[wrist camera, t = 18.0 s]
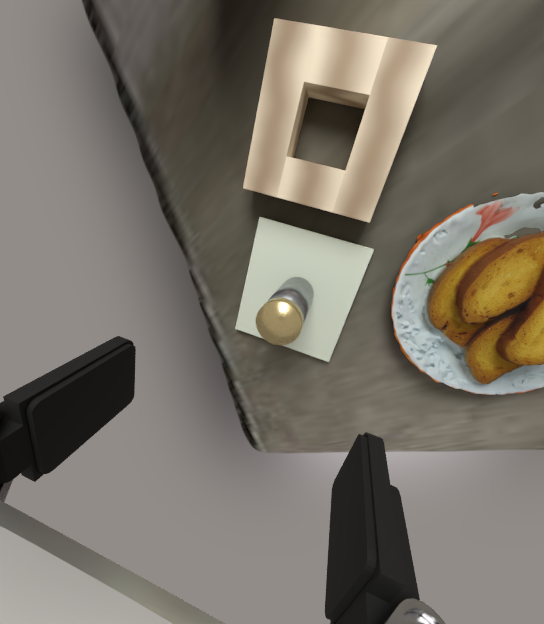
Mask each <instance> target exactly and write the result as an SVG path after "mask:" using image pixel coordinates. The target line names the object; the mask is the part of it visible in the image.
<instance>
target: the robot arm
mask: <svg viewBox="0 0 544 624" xmlns="http://www.w3.org/2000/svg"><path fill="white" fill-rule="evenodd" d="M134 383H135V346H134V345H133V342H132V341H130V340H128V339H125V338H122V337H120V336H117V337H115V338H113V339H111V340H109V341H107V342H105V343H103V344H101V345H100V346H98V347H96V348H94V349H92V350H90V351H88V352H86V353H84V354H83V355H81V356H79V357H77V358H75V359H73V360H71V361H69V362H68V363H66V364H64V365H62V366H60V367H58V368H56V369H54V370H52V371H51V372H49V373H47V374H45V375H43V376H42V377H39V378H37V379H35V380H34V381H32V382H30V383H28V384H26V385H24V386H23V387H20V388H19V389H17V390H15V391H13V392H11V393H9V394H7V395H5V396H4V397H3V398H4V401H3V402H1V403H0V624H225V623H223V622H221V621H219V620H218V619H216V618H214V617H212V616H210V615H209V614H207V613H205V612H203V611H201V610H200V609H198V608H196V607H194V606H192V605H191V604H189V603H187V602H185V601H183V600H182V599H180V598H178V597H176V596H174V595H173V594H171V593H169V592H167V591H165V590H164V589H162V588H160V587H158V586H156V585H155V584H153V583H151V582H149V581H147V580H146V579H144V578H142V577H140V576H138V575H136V574H135V573H133V572H131V571H129V570H127V569H125V568H124V567H122V566H120V565H118V564H116V563H114V562H113V561H111V560H109V559H107V558H105V557H104V556H102V555H100V554H98V553H96V552H95V551H93V550H91V549H89V548H87V547H85V546H83V545H82V544H80V543H78V542H76V541H74V540H73V539H71V538H69V537H67V536H65V535H63V534H62V533H60V532H58V531H56V530H54V529H52V528H50V527H49V526H47V525H45V524H43V523H41V522H39V521H37V520H36V519H34V518H32V517H30V516H28V515H26V514H25V513H23V512H21V511H19V510H17V509H15V508H13V507H11V506H10V505H8V504H6V503H4V501H5V499H6V496H7V494H8V491H9V489H10V486H11V484H12V481H13V479H14V478H15V477H16V476H18V475H19V474H20V473H21V474H22V475H23V476H25V477H27V478H28V479H30V480H32V481H34V482H35V481H36V480H37V479H39V478H40V477H41V476H42V475H43V474H47V473H50V472H51V471H53V470H54V469H55V468H56V467H57V466H58V465H60V464H61V463H62V462H63V461H64V460H65V459H66V458H68V457H69V456H70V455H71V454H72V453H73V452H74V451H76V450H77V449H78V448H79V447H80V446H81V445H83V444H84V443H85V442H86V441H87V440H88V439H89V438H91V437H92V436H93V435H94V434H95V433H96V432H98V431H99V430H100V429H101V428H102V427H103V426H104V425H106V424H107V423H108V422H109V421H110V420H111V419H112V418H114V417H115V416H116V415H117V414H118V413H119V412H120V411H122V410H123V409H124V408H125V407H126V406H127V405H128V404H130V403H131V401H132V399H133V398H134ZM325 616H326V618H327V619H329V620H331V623H330V624H445V623H444V621H443V620H442V619H441V617H440V616H439V615H438V614H437V613H436V612H435V611H434V610H433V609H432V608H431V607H429V606H428V605H426V604H425V603H424V602H422V601H420V599H419V594H418V588H417V583H416V577H415V572H414V566H413V561H412V556H411V550H410V545H409V539H408V534H407V528H406V523H405V518H404V512H403V507H402V502H401V496H400V493H399V490H398V489H397V488H396V487H394V486H392V485H390V480H389V474H388V467H387V460H386V454H385V447H384V442H383V439H382V438H380V437H377V436H374V435H372V434H369V433H365V434H364V435H360V434H359V435H358V436H357V438H356V440H355V442H354V444H353V446H352V448H351V450H350V452H349V454H348V456H347V458H346V459H345V461H344V463H343V466H342V467H341V469H340V471H339V473H338V475H337V477H336V479H335V481H334V483H333V487H332V498H331V515H330V532H329V549H328V566H327V583H326V601H325Z"/></svg>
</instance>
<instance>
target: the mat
mask: <svg viewBox="0 0 544 624" xmlns="http://www.w3.org/2000/svg"><path fill="white" fill-rule="evenodd" d="M373 251H374V249H372V248H368V247H365V246H361V245H358V244H354V243H351V242H347V241H344V240H340V239H337V238H333V237H330V236H326V235H323V234H319V233H316V232H312V231H309V230H305V229H302V228H298V227H295V226H291V225H288V224H284V223H281V222H278V221H274V220H271V219H267V218H264V217H259V222H258V227H257V231H256V236H255V240H254V245H253V250H252V254H251V259H250V263H249V268H248V273H247V277H246V282H245V287H244V291H243V296H242V300H241V305H240V310H239V314H238V319H237V323H236V328H235V329H238V330H240V331H243V332H246V333H249V334H252V335H254V336H257V337H260V338H263V337H262V336H261V335H260V334H259V332H258V330H257V327H256V316H257V313H258V311H259V310H260V308H261V307H262V306H263V305H264V304H265V303H266V302H267V301H268V300H269V299H270V297H271V296H272V295H273V294H274V293H275V292H276V291H277V290H278V289H279V288H280V286H281V285H282V284H283V283H284V282H285V281H286V280H288V279H289V278H292V277H301V278H304V279H306V280H307V281H308V282H309V283H310V284H311V285H312V287H313V290H314V297H313V300H312V303H311V306H310V308H309V311H308V313H307V316H306V319H305V321H304V324H303V326H302V329H301V332H300V334H299V336H298V337H297V339H296V340H294V341H293V342H292V343H290V344H287V345H282V346H285V347H288V348H291V349H293V350H296V351H299V352H302V353H305V354H307V355H310V356H313V357H316V358H319V359H321V360H324V361H327V362H329V360H330V358H331V355H332V353H333V350H334V348H335V345H336V343H337V340H338V338H339V335H340V333H341V330H342V328H343V325H344V323H345V320H346V318H347V315H348V313H349V311H350V308H351V306H352V303H353V301H354V298H355V296H356V293H357V291H358V288H359V286H360V283H361V281H362V278H363V276H364V273H365V271H366V268H367V266H368V263H369V261H370V258H371V256H372V253H373ZM263 339H264V338H263Z"/></svg>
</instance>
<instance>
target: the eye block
mask: <svg viewBox="0 0 544 624" xmlns="http://www.w3.org/2000/svg"><path fill="white" fill-rule="evenodd" d="M436 47H437V45H431V44H425V43H419V42H413V41H407V40H401V39H395V38H389V37H383V36H377V35H371V34H365V33H359V32H354V31H348V30H342V29H336V28H330V27H324V26H318V25H312V24H306V23H300V22H294V21H288V20H282V19H276V18H274V23H273V28H272V34H271V39H270V44H269V50H268V55H267V61H266V66H265V72H264V77H263V82H262V88H261V93H260V99H259V104H258V109H257V115H256V120H255V126H254V131H253V136H252V142H251V147H250V153H249V158H248V164H247V169H246V174H245V180H244V185H243V188H244V189H248V190H252V191H255V192H259V193H263V194H266V195H270V196H274V197H277V198H281V199H285V200H288V201H292V202H296V203H299V204H303V205H307V206H310V207H314V208H318V209H321V210H325V211H329V212H332V213H336V214H340V215H343V216H347V217H351V218H354V219H358V220H362V221H365V222H369V223H370V220H371V218H372V215H373V213H374V210H375V207H376V205H377V202H378V199H379V197H380V194H381V192H382V189H383V186H384V184H385V181H386V178H387V176H388V173H389V170H390V168H391V165H392V163H393V160H394V157H395V155H396V152H397V149H398V147H399V144H400V142H401V139H402V136H403V134H404V131H405V128H406V126H407V123H408V121H409V118H410V115H411V113H412V110H413V107H414V105H415V102H416V99H417V97H418V94H419V92H420V89H421V86H422V84H423V81H424V78H425V76H426V73H427V71H428V68H429V65H430V63H431V60H432V57H433V55H434V52H435V50H436ZM309 97H310V98H314V99H319V100H324V101H329V102H334V103H338V104H343V105H348V106H353V107H357V108H362V109H365V111H364V115H363V118H362V121H361V124H360V127H359V130H358V133H357V136H356V139H355V143H354V146H353V149H352V152H351V155H350V158H349V161H348V164H347V168H346V171H344V170H340V169H336V168H332V167H328V166H324V165H320V164H316V163H312V162H308V161H304V160H300V159H296V158H294V155H295V151H296V147H297V143H298V139H299V135H300V131H301V127H302V123H303V118H304V114H305V110H306V106H307V102H308V98H309Z"/></svg>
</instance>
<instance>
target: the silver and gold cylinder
mask: <svg viewBox="0 0 544 624" xmlns="http://www.w3.org/2000/svg"><path fill="white" fill-rule="evenodd" d="M313 297H314V290H313V287H312V285H311V284H310V283H309V282H308V281H307V280H306V279H304V278H301V277H292V278H289V279H288V280H286V281H285V282H284V283H283V284H282V285H281V286H280V288H279V289H278V290H277V291H276V292H275V293H274V294H273V295H272V296H271V297H270V299H269V300H268V301H267V302H266V303H265V304H264V305H263V306H262V307H261V308H260V310H259V311H258V313H257V316H256V327H257V330H258V332H259V334H260V335H261V336H262V337H263V338H264V339H265V340H266V341H268V342H269V343H272V344H275V345H287V344H290V343H292V342H293V341H294V340H296V339H297V337H298V336H299V334H300V332H301V329H302V326H303V324H304V321H305V319H306V316H307V313H308V311H309V308H310V306H311V303H312V300H313Z"/></svg>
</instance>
